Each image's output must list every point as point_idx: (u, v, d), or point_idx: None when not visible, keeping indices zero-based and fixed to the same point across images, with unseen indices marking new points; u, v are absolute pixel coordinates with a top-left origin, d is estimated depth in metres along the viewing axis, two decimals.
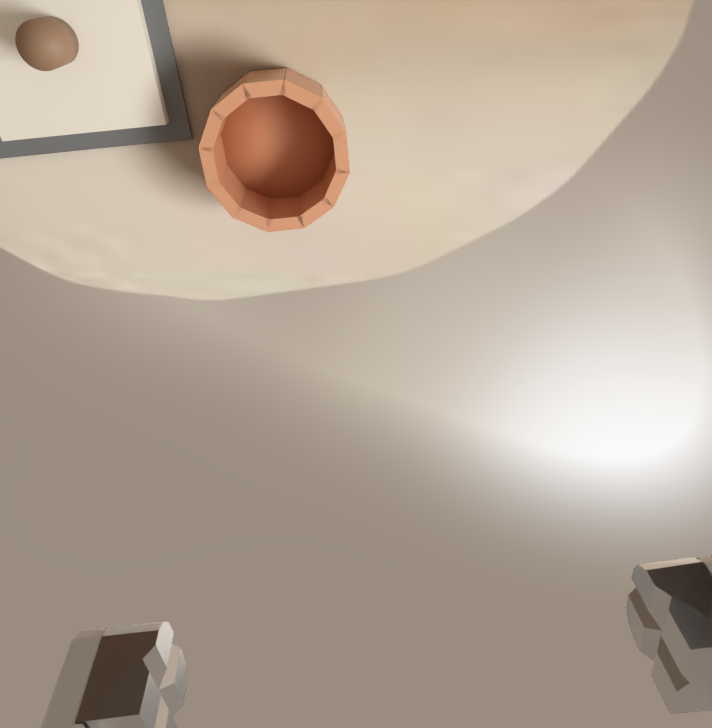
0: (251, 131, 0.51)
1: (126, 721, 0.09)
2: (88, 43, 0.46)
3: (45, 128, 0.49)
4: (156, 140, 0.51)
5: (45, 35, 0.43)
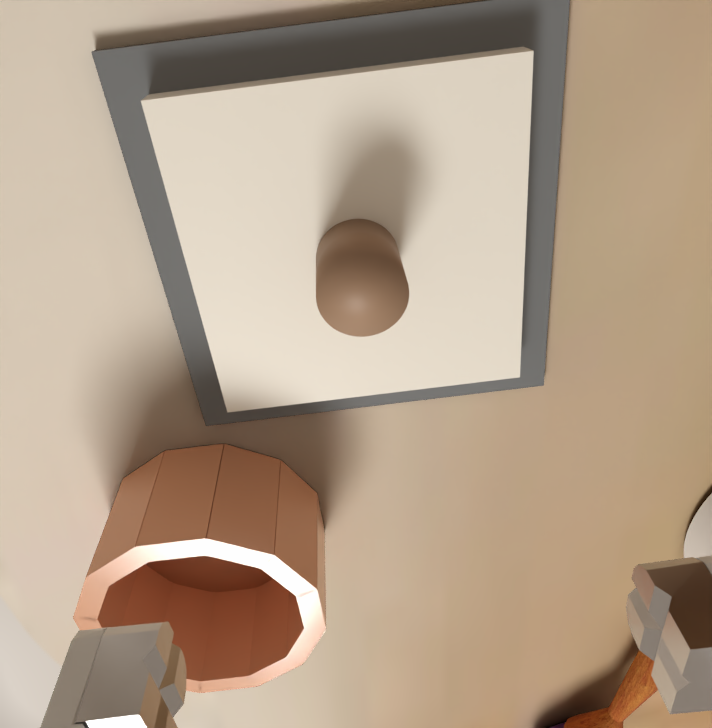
0: None
1: (126, 720, 0.09)
2: None
3: (187, 205, 0.23)
4: (194, 375, 0.28)
5: (381, 309, 0.22)
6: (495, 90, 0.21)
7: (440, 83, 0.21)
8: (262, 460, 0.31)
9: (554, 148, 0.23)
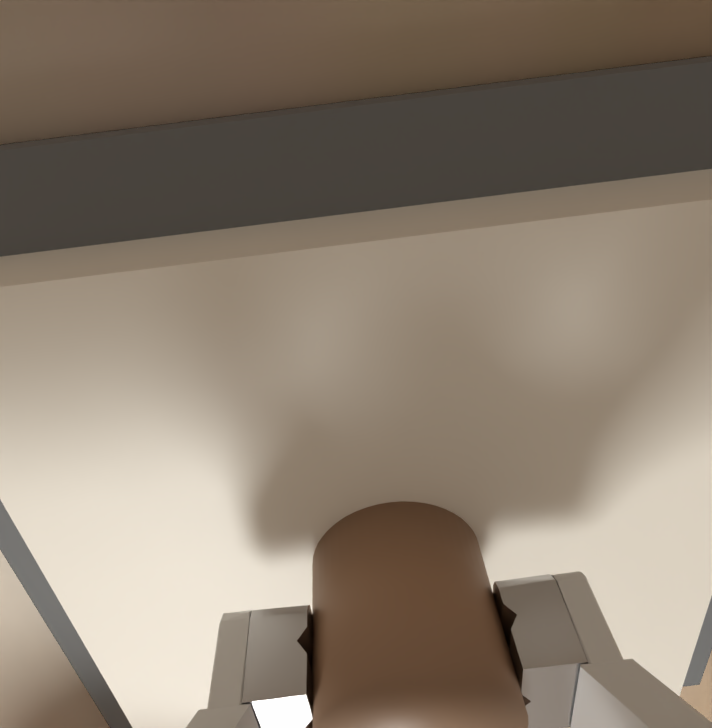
0: None
1: (292, 701, 0.09)
2: None
3: (34, 490, 0.10)
4: (96, 694, 0.16)
5: None
6: None
7: (609, 254, 0.09)
8: None
9: None
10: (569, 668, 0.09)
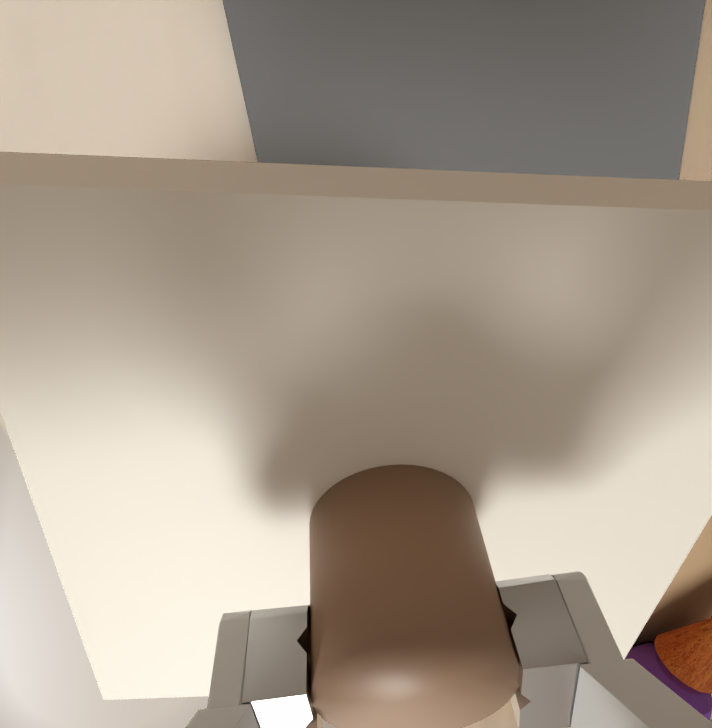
0: None
1: (292, 702, 0.09)
2: None
3: (41, 409, 0.10)
4: None
5: (448, 707, 0.10)
6: None
7: (669, 251, 0.09)
8: None
9: None
10: (569, 668, 0.09)
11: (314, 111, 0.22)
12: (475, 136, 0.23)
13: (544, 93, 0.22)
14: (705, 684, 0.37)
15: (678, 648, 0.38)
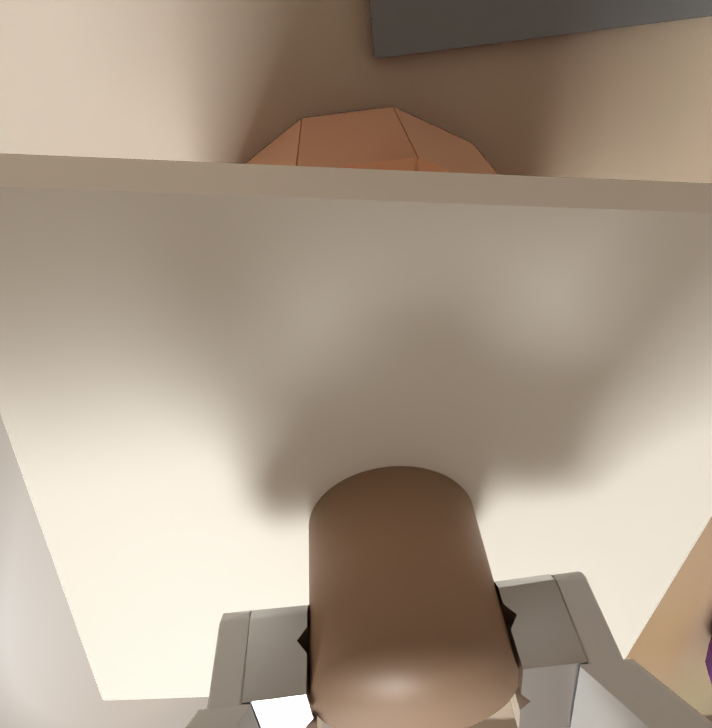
0: None
1: (292, 701, 0.09)
2: None
3: (40, 410, 0.10)
4: None
5: (447, 709, 0.10)
6: None
7: (668, 254, 0.09)
8: (450, 135, 0.20)
9: None
10: (569, 668, 0.09)
11: None
12: None
13: None
14: None
15: None
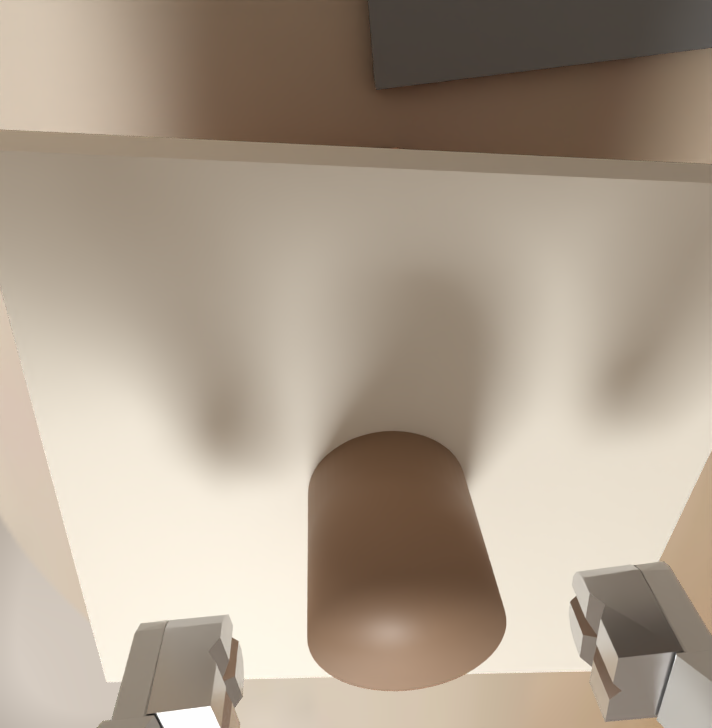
0: None
1: (197, 713, 0.09)
2: None
3: (60, 370, 0.11)
4: None
5: (438, 655, 0.10)
6: None
7: (634, 220, 0.10)
8: None
9: None
10: (664, 657, 0.09)
11: None
12: None
13: None
14: None
15: None
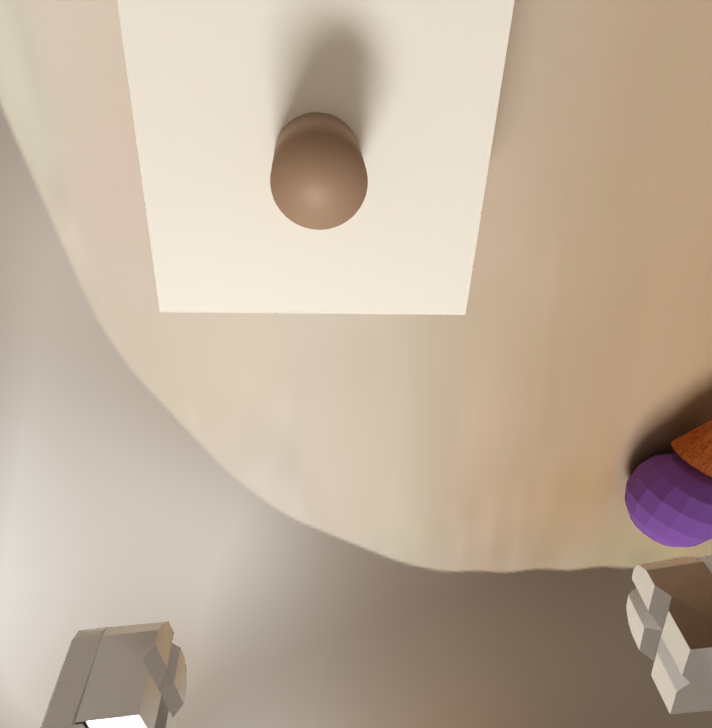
0: None
1: (126, 721, 0.09)
2: None
3: (145, 67, 0.21)
4: None
5: (336, 201, 0.21)
6: None
7: None
8: None
9: None
10: None
11: None
12: None
13: None
14: None
15: (696, 441, 0.38)
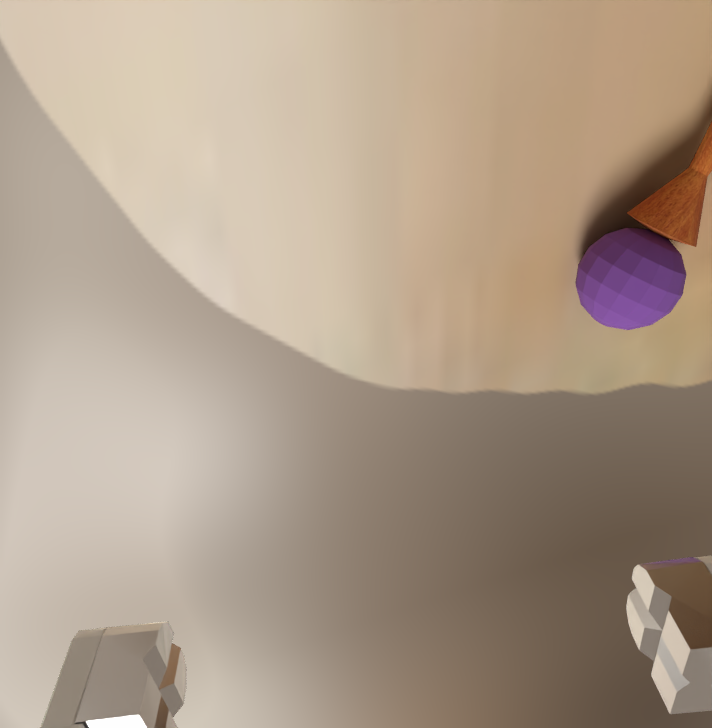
0: None
1: (126, 721, 0.09)
2: None
3: None
4: None
5: None
6: None
7: None
8: None
9: None
10: None
11: None
12: None
13: None
14: (680, 229, 0.34)
15: (653, 201, 0.35)
